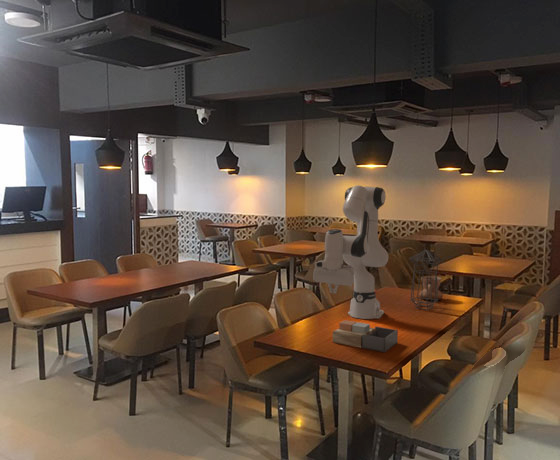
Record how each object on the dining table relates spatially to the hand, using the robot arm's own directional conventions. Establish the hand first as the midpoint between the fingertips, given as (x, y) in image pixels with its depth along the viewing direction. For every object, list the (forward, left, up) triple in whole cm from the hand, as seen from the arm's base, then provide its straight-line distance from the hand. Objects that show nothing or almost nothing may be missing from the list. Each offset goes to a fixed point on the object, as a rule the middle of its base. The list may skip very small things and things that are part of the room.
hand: (333, 292), depth 232 cm
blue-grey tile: (0, +15, -16) cm, 22 cm away
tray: (0, +24, -21) cm, 32 cm away
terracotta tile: (0, +8, -16) cm, 18 cm away
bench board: (0, +11, -21) cm, 24 cm away
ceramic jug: (-108, +16, -21) cm, 111 cm away
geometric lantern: (-84, +19, -21) cm, 89 cm away
